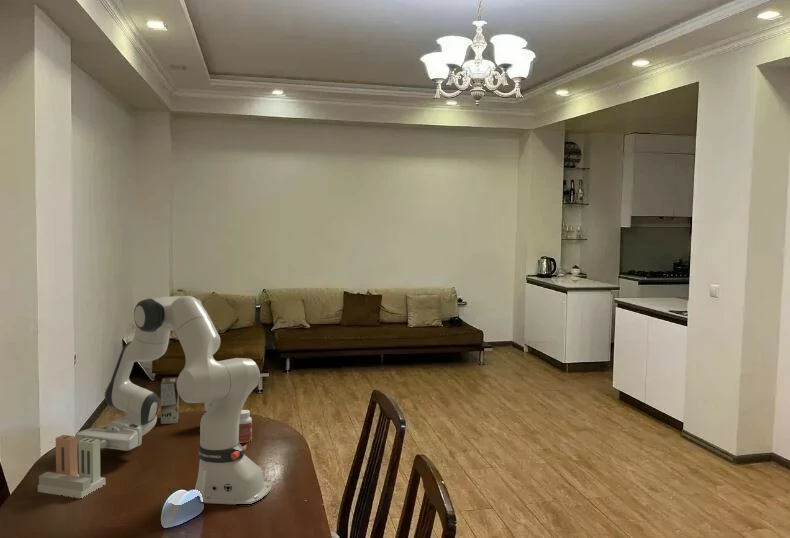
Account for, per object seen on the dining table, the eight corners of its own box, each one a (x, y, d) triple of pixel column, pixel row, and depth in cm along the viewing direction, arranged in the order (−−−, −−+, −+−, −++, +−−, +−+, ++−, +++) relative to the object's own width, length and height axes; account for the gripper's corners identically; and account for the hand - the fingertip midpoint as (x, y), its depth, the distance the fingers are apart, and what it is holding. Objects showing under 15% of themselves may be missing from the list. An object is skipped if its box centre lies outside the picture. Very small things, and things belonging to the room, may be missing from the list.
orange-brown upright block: (77, 475, 189) (77, 436, 188) (69, 479, 186) (69, 440, 185) (63, 473, 191) (63, 434, 190) (55, 477, 188) (55, 438, 186)
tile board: (105, 484, 188) (105, 469, 188) (81, 498, 179) (81, 483, 178) (63, 478, 192) (63, 463, 192) (37, 491, 182) (37, 476, 182)
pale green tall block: (100, 478, 188) (99, 439, 187) (92, 482, 184) (92, 443, 183) (86, 476, 189) (85, 437, 188) (78, 480, 186) (77, 441, 185)
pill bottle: (254, 442, 226) (254, 412, 225) (237, 445, 223) (237, 415, 222) (248, 437, 231) (248, 408, 230) (231, 440, 228) (232, 410, 227)
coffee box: (178, 423, 244) (178, 383, 243) (160, 424, 242) (160, 383, 241) (178, 415, 253) (178, 376, 251) (161, 416, 251) (161, 377, 249)
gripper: (92, 420, 213) (62, 434, 200) (145, 427, 208) (117, 441, 195) (93, 438, 214) (62, 453, 200) (145, 445, 209) (117, 461, 195)
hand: (90, 447), depth 198 cm, fingers closed
